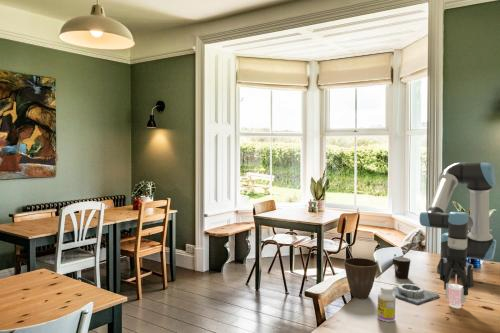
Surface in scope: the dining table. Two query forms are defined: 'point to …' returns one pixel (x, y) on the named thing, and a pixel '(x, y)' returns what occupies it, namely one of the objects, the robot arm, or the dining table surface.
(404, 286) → the sleeve block
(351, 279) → the plant pot
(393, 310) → the supplement bottle
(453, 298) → the beverage cup
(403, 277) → the coffee mug
